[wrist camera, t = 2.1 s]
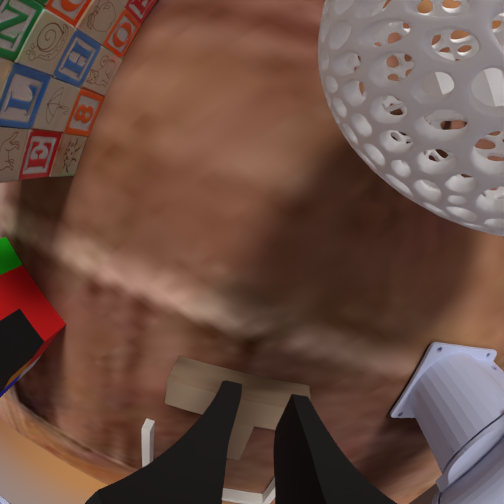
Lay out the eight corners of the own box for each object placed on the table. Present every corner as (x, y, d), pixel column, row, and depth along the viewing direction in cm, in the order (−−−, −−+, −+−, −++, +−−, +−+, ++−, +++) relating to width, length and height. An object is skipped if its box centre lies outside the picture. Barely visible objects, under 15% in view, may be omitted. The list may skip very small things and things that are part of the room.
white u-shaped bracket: (299, 452, 22) (299, 464, 21) (267, 497, 25) (267, 506, 24) (146, 418, 22) (141, 428, 21) (146, 469, 25) (143, 478, 24)
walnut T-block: (308, 385, 20) (312, 411, 17) (279, 442, 22) (280, 466, 19) (179, 355, 20) (167, 379, 17) (171, 417, 22) (161, 441, 19)
